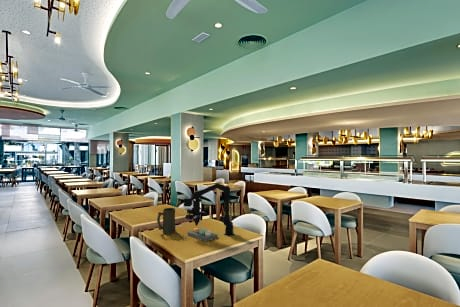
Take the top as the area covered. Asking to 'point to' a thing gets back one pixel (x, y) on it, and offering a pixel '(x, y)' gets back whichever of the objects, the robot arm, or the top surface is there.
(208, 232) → the button cream
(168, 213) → the beer stein
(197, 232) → the button orange
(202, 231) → the button teal
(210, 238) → the console
